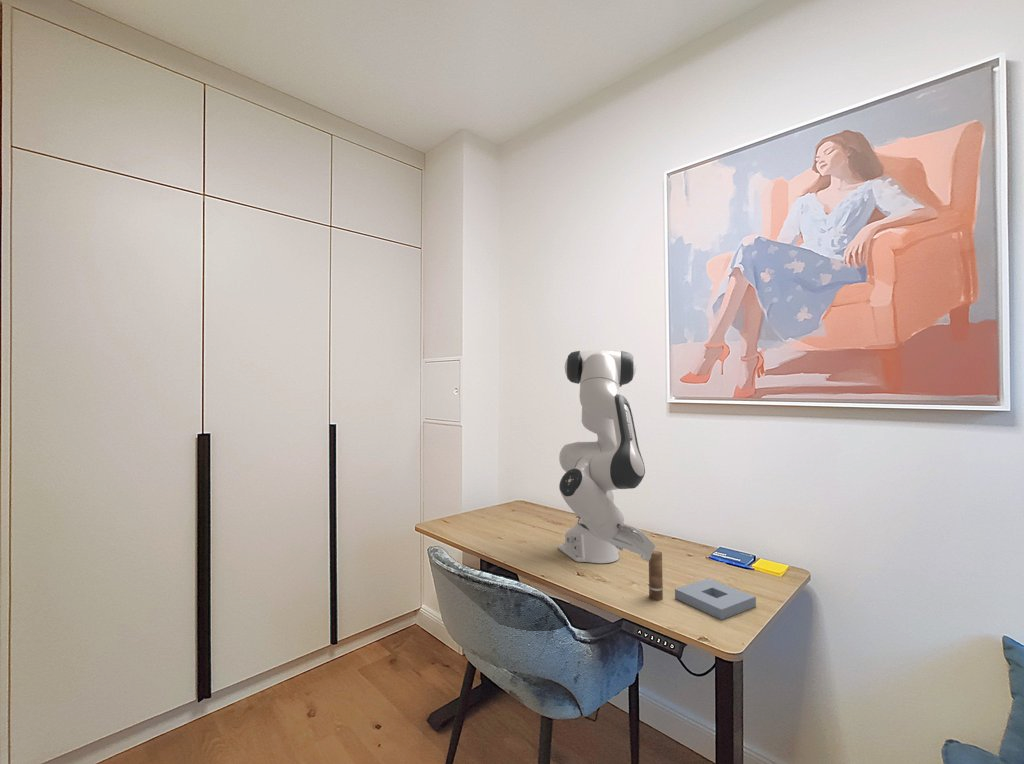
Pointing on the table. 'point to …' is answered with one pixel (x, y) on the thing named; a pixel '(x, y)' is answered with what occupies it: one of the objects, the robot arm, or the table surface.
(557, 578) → the table surface
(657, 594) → the peg
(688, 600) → the socket board
